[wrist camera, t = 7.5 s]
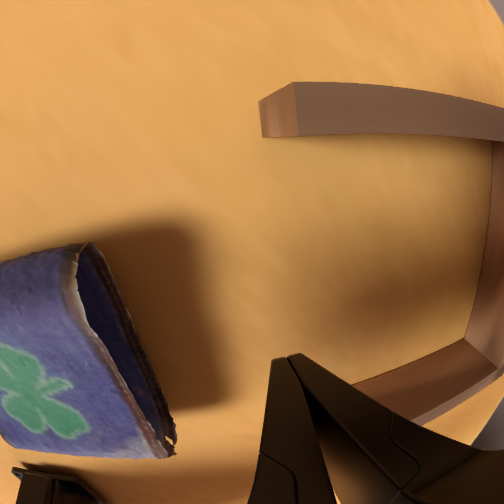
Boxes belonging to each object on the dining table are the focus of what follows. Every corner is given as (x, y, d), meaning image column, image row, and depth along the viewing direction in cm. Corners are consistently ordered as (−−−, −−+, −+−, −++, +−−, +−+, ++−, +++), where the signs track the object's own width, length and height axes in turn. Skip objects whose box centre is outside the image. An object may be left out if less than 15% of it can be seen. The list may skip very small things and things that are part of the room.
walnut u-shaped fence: (470, 346, 16) (502, 375, 13) (286, 418, 14) (306, 471, 11) (502, 118, 11) (553, 125, 7) (258, 101, 9) (293, 82, 6)
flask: (178, 468, 10) (-2, 451, 9) (179, 415, 12) (12, 414, 12) (63, 262, 6) (-106, 305, 5) (101, 221, 9) (-72, 274, 8)
